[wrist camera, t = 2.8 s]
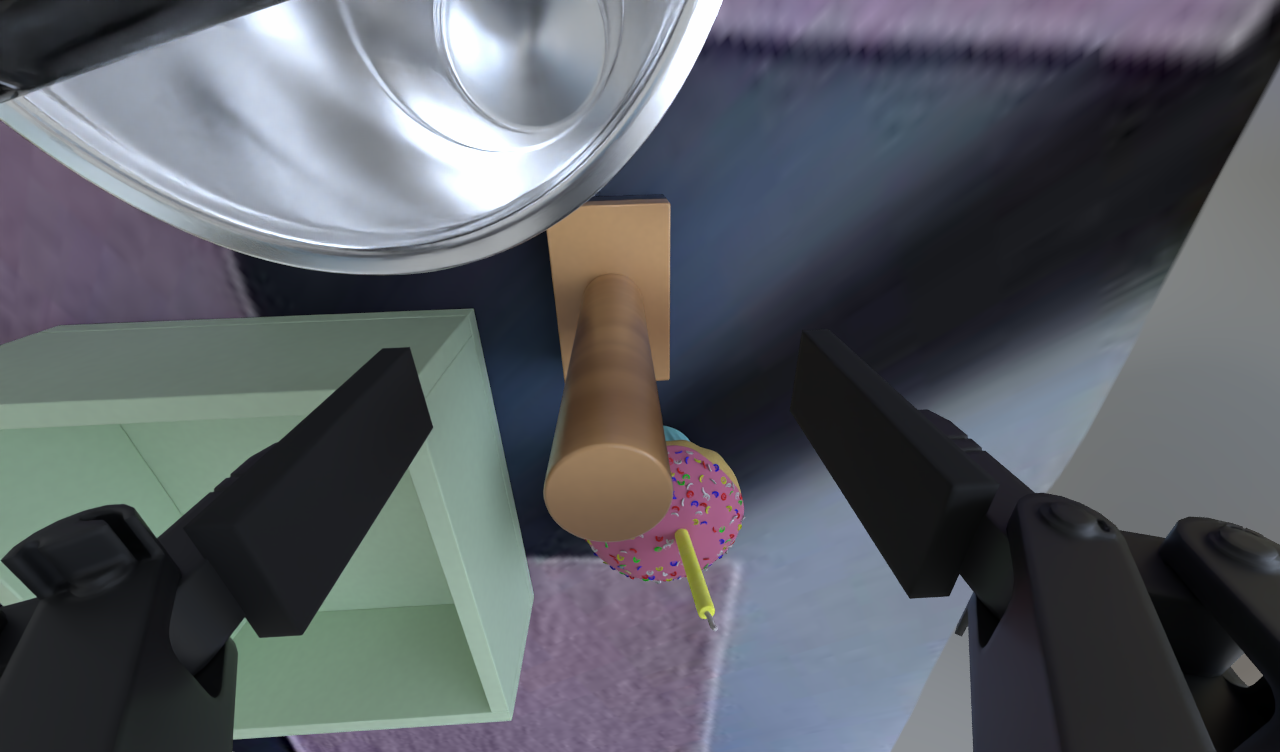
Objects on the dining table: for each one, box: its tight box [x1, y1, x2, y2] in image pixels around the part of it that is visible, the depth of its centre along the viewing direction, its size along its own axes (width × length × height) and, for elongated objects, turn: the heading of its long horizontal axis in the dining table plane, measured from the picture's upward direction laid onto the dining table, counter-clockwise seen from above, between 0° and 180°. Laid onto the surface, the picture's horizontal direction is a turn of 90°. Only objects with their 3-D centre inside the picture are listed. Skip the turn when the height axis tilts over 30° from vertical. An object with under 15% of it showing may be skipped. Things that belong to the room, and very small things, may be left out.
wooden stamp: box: [543, 194, 673, 542], centre depth 16 cm, size 8×5×15 cm, turn 1°
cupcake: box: [585, 426, 745, 631], centre depth 22 cm, size 9×8×12 cm
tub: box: [0, 309, 534, 739], centre depth 24 cm, size 22×20×8 cm
